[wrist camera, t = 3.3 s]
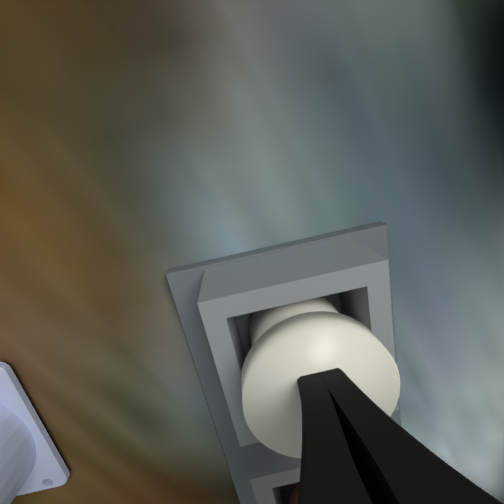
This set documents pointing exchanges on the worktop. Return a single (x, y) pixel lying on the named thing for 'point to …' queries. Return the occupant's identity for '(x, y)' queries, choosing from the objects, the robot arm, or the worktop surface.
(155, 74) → the worktop surface
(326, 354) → the cream plug
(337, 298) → the socket board
